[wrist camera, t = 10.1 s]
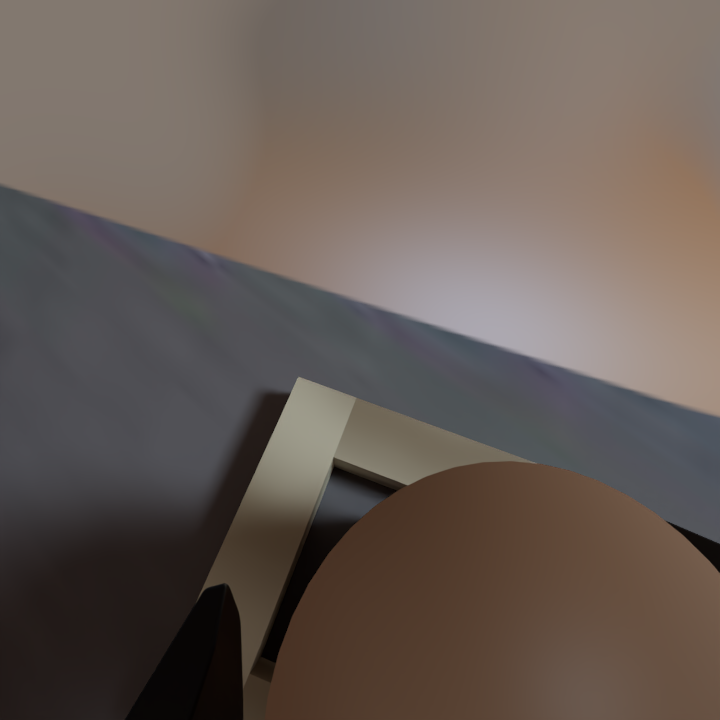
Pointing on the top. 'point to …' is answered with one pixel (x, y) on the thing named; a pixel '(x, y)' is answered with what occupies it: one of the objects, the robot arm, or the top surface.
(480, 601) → the cherry wood peg
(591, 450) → the top surface
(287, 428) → the birch hole board
